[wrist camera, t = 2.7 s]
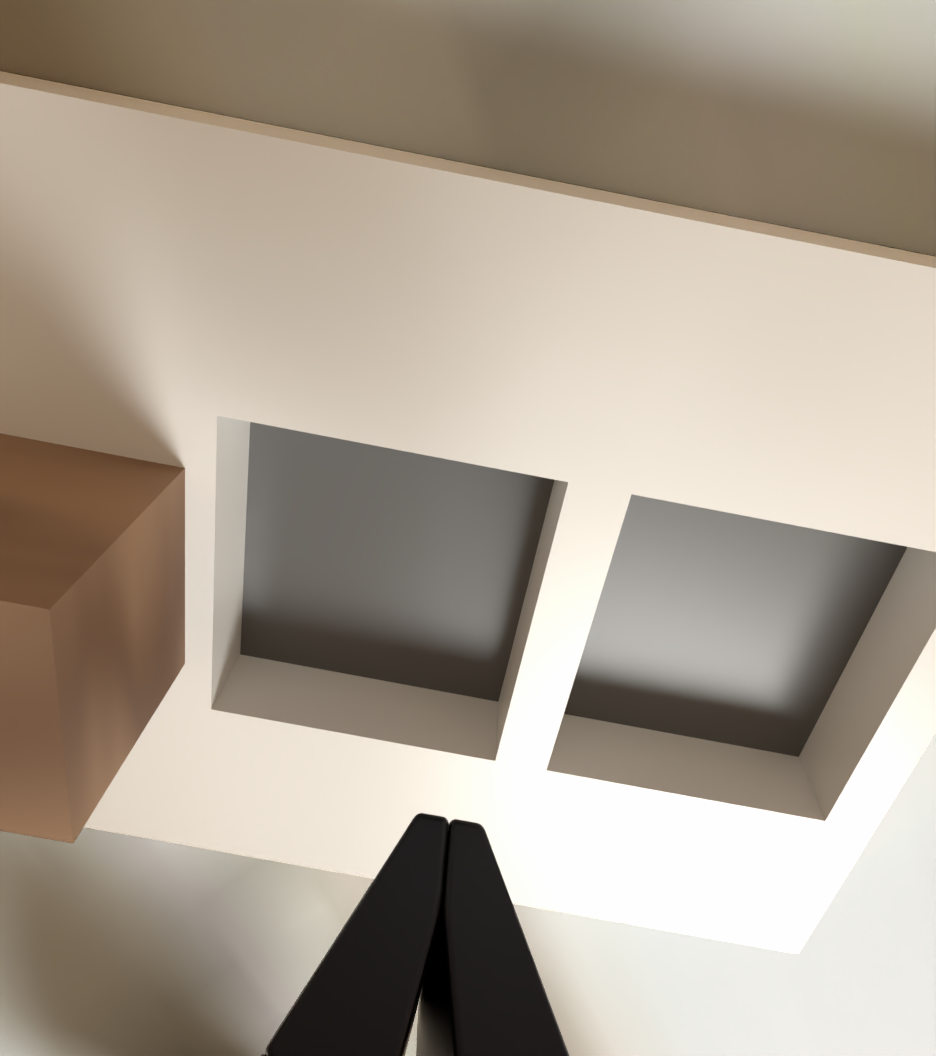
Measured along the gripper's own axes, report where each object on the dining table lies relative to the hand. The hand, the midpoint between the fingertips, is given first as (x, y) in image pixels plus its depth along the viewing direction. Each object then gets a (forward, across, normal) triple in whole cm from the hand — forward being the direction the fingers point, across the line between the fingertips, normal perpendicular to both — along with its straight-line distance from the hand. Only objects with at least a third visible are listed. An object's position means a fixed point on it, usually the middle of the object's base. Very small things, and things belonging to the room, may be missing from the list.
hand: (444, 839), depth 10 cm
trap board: (+6, +4, 0) cm, 7 cm away
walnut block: (+4, +7, 0) cm, 8 cm away
